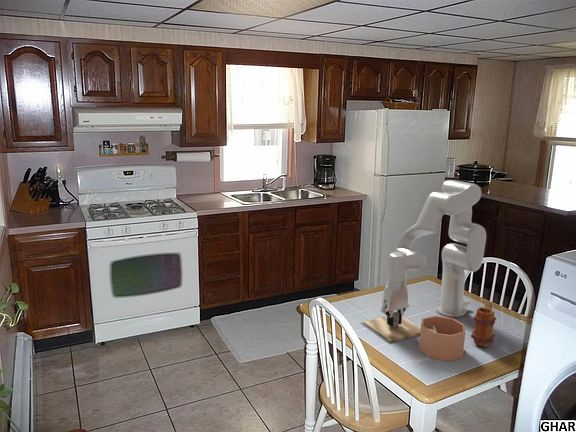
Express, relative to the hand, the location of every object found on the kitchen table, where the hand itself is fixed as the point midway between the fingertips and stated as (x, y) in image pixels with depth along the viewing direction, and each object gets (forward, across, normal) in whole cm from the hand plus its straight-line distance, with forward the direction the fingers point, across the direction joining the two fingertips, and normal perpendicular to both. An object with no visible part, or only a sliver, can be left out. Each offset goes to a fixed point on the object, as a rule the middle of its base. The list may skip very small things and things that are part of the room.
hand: (394, 323), depth 194 cm
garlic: (-3, -3, +21) cm, 21 cm away
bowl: (+2, -6, +21) cm, 22 cm away
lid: (+2, 0, 0) cm, 2 cm away
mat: (+2, 0, 0) cm, 2 cm away
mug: (+3, -26, +23) cm, 35 cm away
